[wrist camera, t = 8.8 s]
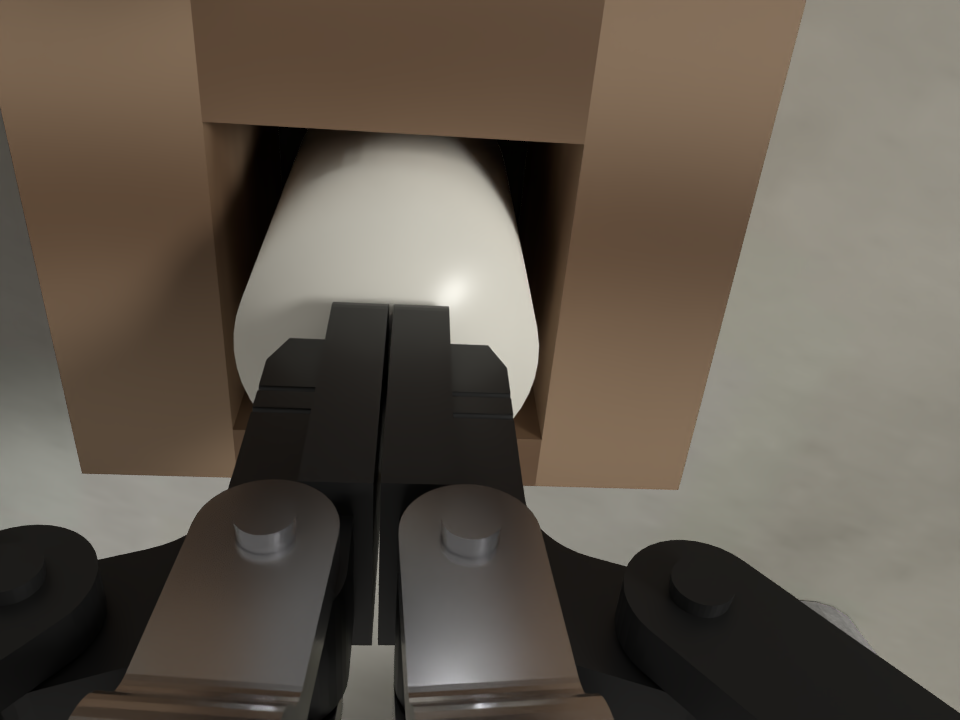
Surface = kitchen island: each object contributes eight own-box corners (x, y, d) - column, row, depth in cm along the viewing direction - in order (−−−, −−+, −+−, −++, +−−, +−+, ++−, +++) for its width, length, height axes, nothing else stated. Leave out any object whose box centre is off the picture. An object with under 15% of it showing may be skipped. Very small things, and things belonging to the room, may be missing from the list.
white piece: (290, 72, 15) (220, 206, 10) (516, 86, 16) (556, 224, 11) (298, 274, 17) (244, 469, 12) (497, 284, 18) (523, 476, 13)
